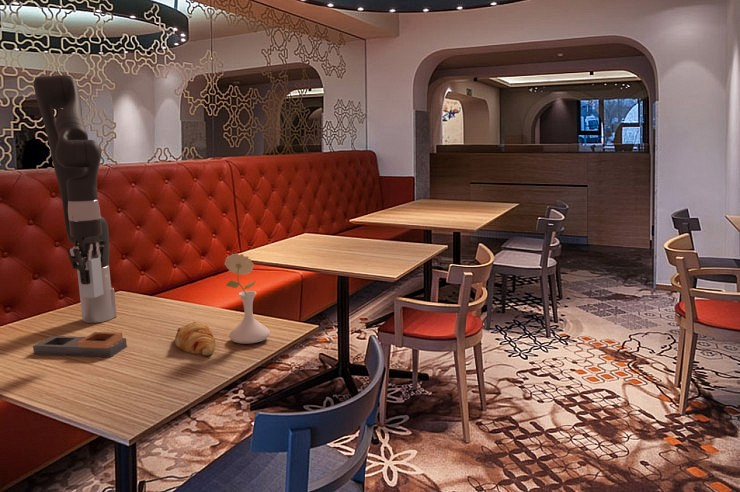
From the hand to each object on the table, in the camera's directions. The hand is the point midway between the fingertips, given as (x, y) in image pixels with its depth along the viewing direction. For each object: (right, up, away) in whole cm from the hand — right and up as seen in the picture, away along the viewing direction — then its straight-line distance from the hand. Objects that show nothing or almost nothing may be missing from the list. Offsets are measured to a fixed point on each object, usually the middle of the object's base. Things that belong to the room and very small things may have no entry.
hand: (91, 281), depth 156 cm
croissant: (+26, -19, +6) cm, 32 cm away
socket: (-5, -19, +5) cm, 20 cm away
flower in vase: (+39, -17, +11) cm, 44 cm away
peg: (0, -4, +1) cm, 4 cm away
